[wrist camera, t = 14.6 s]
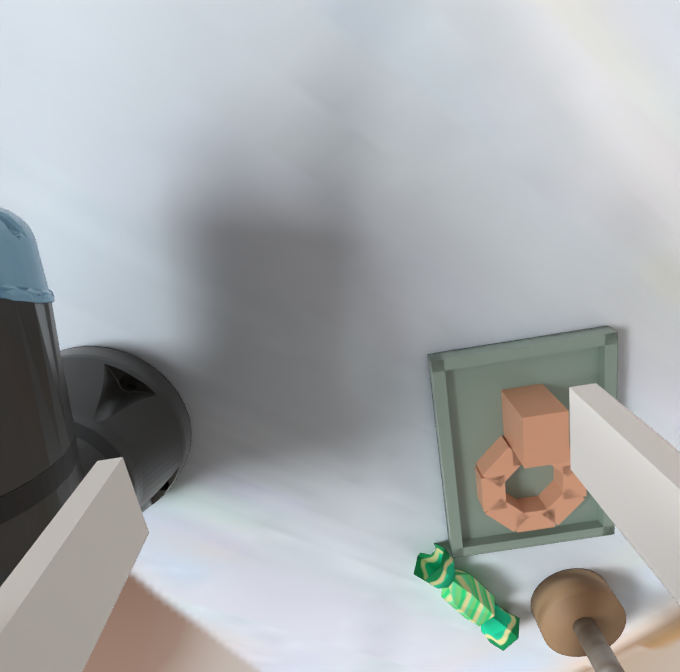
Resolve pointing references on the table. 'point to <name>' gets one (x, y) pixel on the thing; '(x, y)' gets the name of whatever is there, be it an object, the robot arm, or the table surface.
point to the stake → (580, 617)
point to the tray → (487, 426)
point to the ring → (529, 461)
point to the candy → (468, 597)
